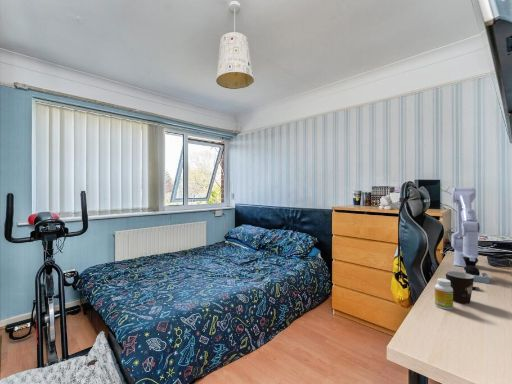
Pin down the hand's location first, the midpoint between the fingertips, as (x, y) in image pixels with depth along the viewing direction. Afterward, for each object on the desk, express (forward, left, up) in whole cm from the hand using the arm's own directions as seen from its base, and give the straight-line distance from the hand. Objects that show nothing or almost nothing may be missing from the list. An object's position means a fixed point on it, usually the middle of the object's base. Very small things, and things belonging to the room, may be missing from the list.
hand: (470, 272), depth 126 cm
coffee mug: (+40, -9, -2) cm, 41 cm away
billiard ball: (+4, 0, -2) cm, 5 cm away
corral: (+5, 0, -2) cm, 5 cm away
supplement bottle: (+49, -13, -2) cm, 50 cm away
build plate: (+20, -4, -2) cm, 21 cm away
